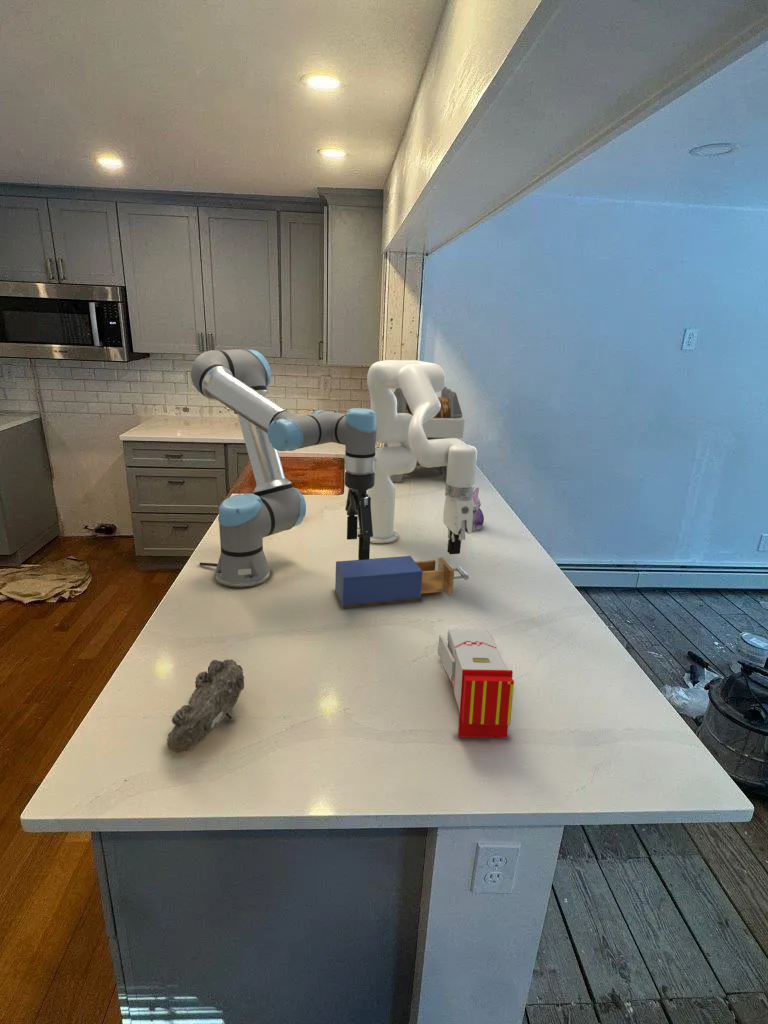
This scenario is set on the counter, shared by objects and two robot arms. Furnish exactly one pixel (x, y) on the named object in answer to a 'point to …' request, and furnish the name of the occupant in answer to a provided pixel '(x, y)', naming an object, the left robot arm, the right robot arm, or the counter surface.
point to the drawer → (439, 576)
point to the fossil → (206, 705)
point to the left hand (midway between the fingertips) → (357, 548)
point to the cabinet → (378, 581)
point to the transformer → (435, 422)
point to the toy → (478, 682)
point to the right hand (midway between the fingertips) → (453, 552)
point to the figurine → (477, 512)
